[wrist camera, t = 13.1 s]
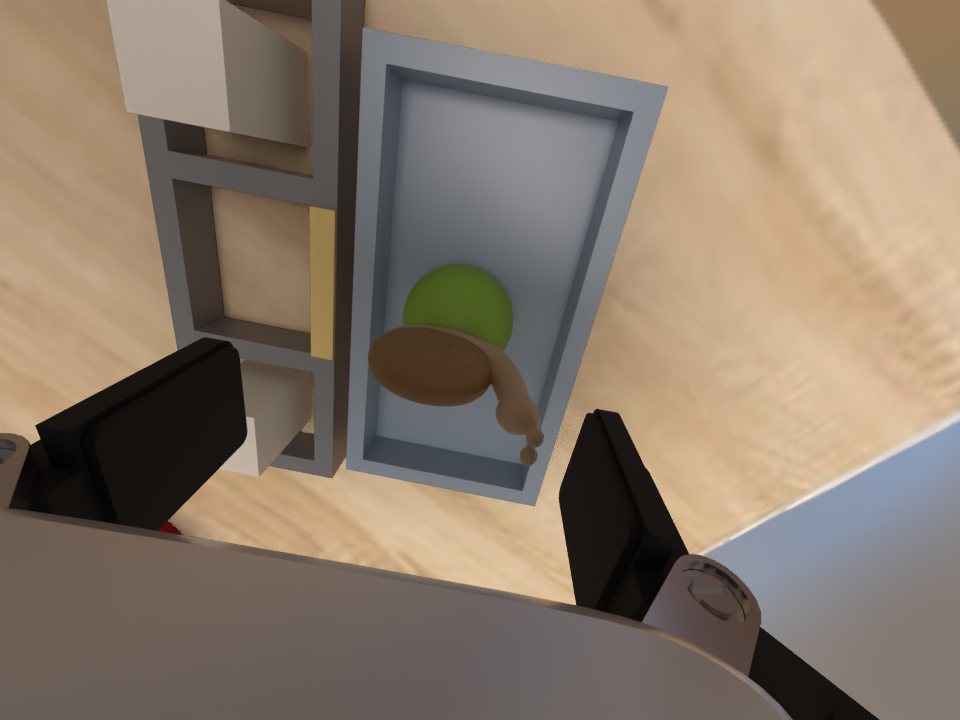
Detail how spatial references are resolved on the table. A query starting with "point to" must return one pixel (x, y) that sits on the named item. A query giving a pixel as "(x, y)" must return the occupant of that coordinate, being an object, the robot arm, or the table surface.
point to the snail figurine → (457, 350)
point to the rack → (330, 191)
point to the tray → (485, 237)
